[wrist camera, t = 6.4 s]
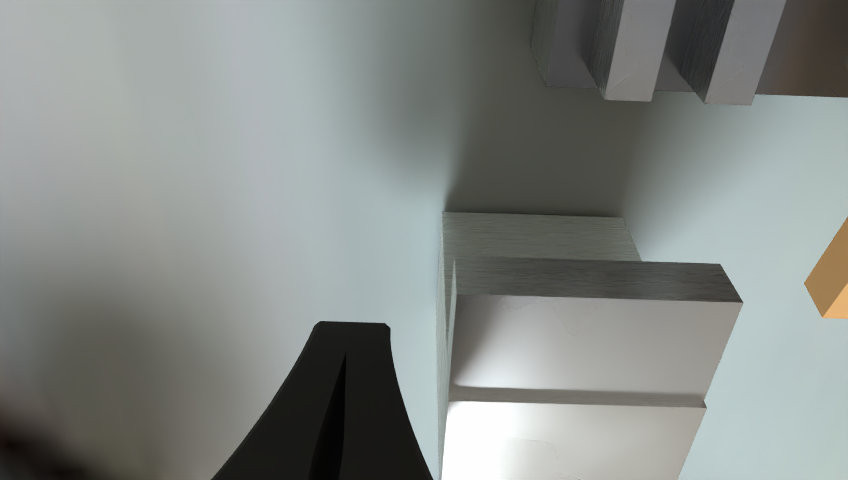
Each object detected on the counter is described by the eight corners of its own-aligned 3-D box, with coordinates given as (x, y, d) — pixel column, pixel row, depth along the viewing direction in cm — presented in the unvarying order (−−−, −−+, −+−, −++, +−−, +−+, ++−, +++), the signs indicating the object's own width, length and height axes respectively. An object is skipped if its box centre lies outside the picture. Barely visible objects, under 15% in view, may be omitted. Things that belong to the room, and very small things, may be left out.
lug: (642, 135, 14) (747, 309, 9) (599, 313, 16) (662, 513, 12) (447, 128, 14) (457, 300, 9) (436, 308, 16) (439, 508, 12)
